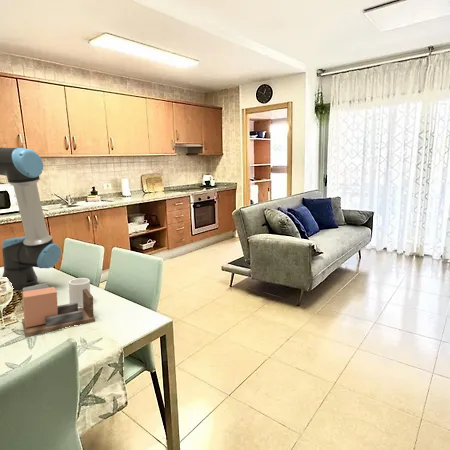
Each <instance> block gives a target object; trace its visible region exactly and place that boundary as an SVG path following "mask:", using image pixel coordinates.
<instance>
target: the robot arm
mask: <svg viewBox="0 0 450 450" xmlns="http://www.w3.org/2000/svg"><path fill="white" fill-rule="evenodd" d="M43 171H44V163H43V160H42V158H41V156H40V155H39V154H38V153H37V152H36V151H35V150H33V149H30V148H25V147H0V176H6V179H7V183H8V184H10V185H11V186H13V188H14V189H13V190H14V194H15V197H16V203H17V206H18V210H19V214H20V219H21V223H22V225H23V226H22V227H23V231H24V236H17V237H10V238H6V239H4V240H3V241H2V243H1V246H2V247H1V250H2V251H1V253H2V259H3V261H2V262H3V272H2V276H1V278H2V277H7V278H8V279H9V280H10V282H11V283H12V286H13V288H14V289H20V290H23V288H26V287H30V286H35V285H38V283H39V280H38V276H37V273H36V272H35V269H34V268H39V269H51V268H53V267H54V266H56V264H57V263H58V262H59V260H60V258H61V255H62V249H61V247H60V246H59V245H58V244H57V243H55V242H54V240H53V236H52V235H49V234H48V230H47V224H46V221H45V216H44V211H43V207H42V201H41V198H40V197H41V196H40V193H39V188H38V182H39V181H40V176H41V174H42V173H43Z"/></svg>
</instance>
